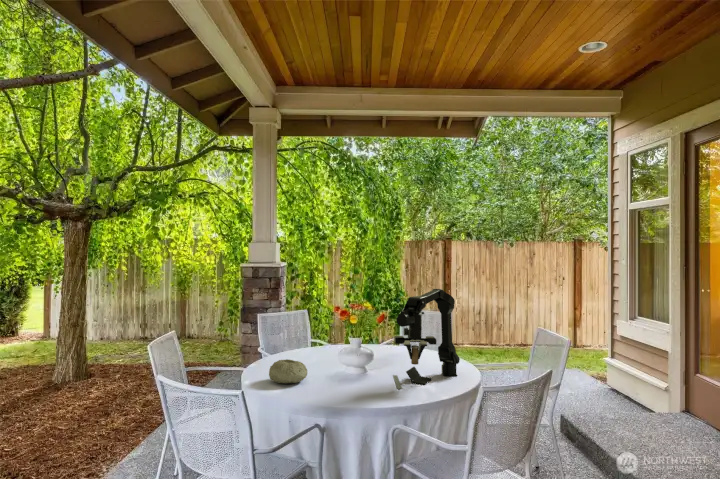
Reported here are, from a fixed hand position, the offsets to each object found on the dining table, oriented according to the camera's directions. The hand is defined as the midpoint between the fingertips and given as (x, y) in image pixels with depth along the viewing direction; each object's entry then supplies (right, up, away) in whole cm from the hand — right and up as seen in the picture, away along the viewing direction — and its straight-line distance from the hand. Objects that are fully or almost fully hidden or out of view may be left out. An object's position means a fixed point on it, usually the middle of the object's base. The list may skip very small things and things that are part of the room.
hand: (414, 359), depth 206 cm
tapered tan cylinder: (0, -2, 0) cm, 2 cm away
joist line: (-7, -13, +7) cm, 17 cm away
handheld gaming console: (+3, -13, +10) cm, 17 cm away
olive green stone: (-59, -13, +7) cm, 61 cm away
